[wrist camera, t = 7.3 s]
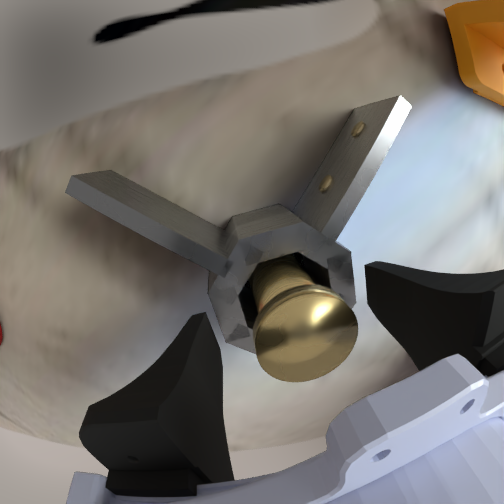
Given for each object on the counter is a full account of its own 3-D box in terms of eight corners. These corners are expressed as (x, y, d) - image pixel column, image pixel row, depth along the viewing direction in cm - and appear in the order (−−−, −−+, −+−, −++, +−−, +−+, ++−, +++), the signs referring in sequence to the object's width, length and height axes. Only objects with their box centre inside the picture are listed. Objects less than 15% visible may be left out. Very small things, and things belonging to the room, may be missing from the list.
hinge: (396, 143, 16) (447, 144, 11) (284, 324, 19) (303, 371, 14) (204, 20, 13) (201, -24, 8) (87, 225, 16) (47, 249, 11)
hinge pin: (313, 256, 18) (376, 324, 10) (275, 305, 19) (312, 392, 11) (263, 221, 17) (304, 276, 9) (224, 274, 18) (234, 360, 10)
